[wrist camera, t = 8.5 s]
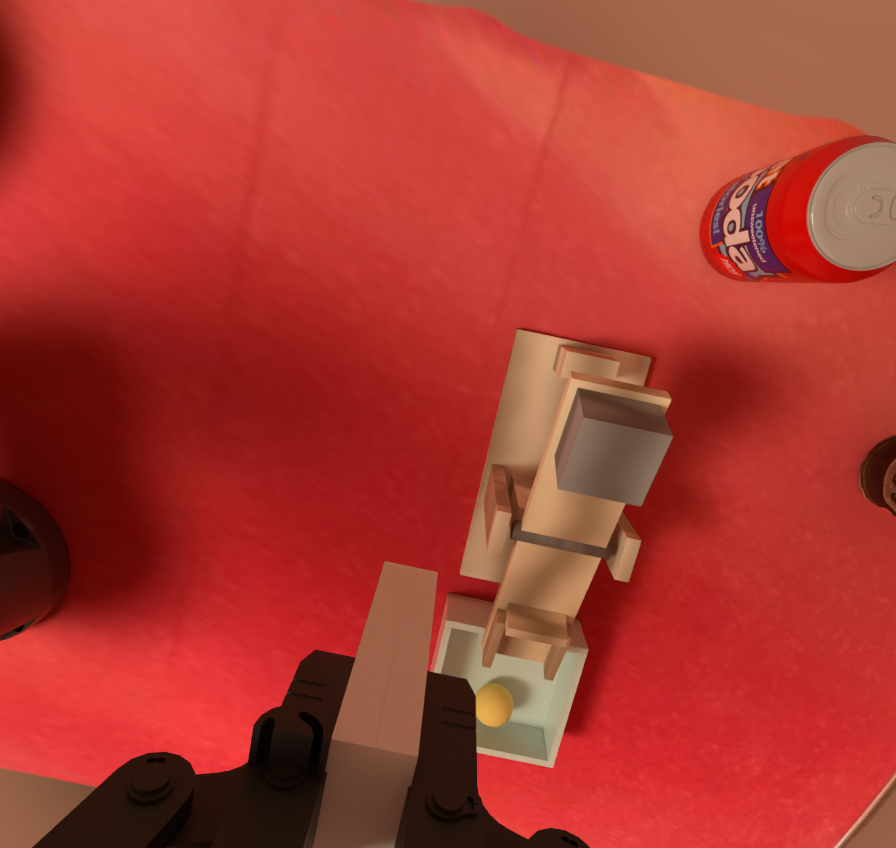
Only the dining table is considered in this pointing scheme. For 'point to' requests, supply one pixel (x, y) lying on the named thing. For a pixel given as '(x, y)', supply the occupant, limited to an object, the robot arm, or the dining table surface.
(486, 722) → the ball
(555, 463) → the lever
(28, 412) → the dining table surface
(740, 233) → the soda can
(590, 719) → the dining table surface
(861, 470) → the coffee cup
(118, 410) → the dining table surface
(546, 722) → the shallow square tray
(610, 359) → the catapult base
